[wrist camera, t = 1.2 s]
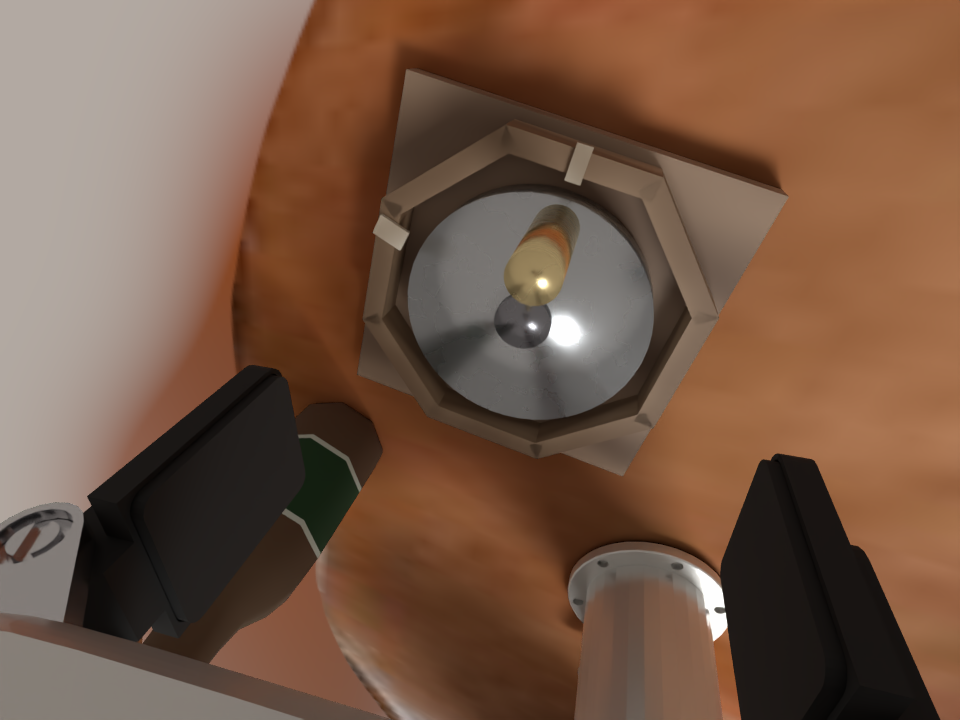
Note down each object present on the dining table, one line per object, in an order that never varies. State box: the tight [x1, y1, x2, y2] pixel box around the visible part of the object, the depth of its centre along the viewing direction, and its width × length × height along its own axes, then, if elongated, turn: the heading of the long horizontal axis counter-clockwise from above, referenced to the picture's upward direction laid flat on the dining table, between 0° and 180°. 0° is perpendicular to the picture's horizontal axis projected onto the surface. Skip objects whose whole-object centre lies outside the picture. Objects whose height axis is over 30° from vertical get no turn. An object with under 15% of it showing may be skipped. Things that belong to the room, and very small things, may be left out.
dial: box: [408, 184, 654, 420], centre depth 28 cm, size 14×14×9 cm
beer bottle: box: [143, 402, 383, 664], centre depth 34 cm, size 8×8×24 cm
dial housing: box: [357, 68, 789, 476], centre depth 32 cm, size 20×20×4 cm
